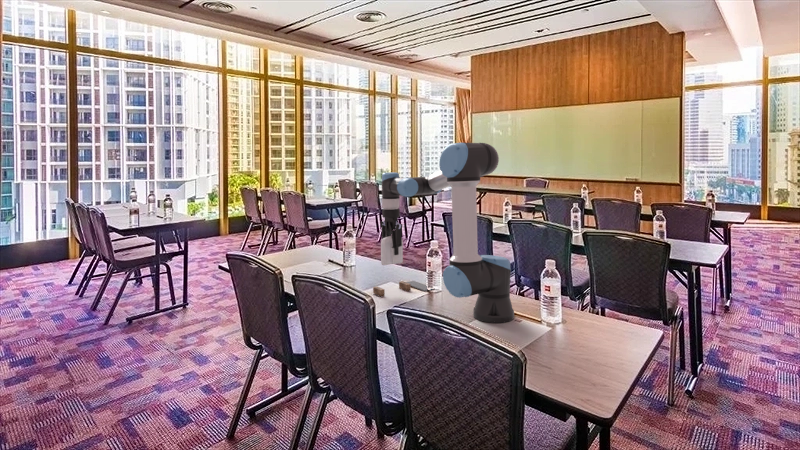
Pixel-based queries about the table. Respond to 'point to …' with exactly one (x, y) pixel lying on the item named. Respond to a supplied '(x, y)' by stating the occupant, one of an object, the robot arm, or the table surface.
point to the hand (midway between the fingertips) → (392, 261)
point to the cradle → (402, 285)
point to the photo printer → (389, 251)
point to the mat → (418, 285)
